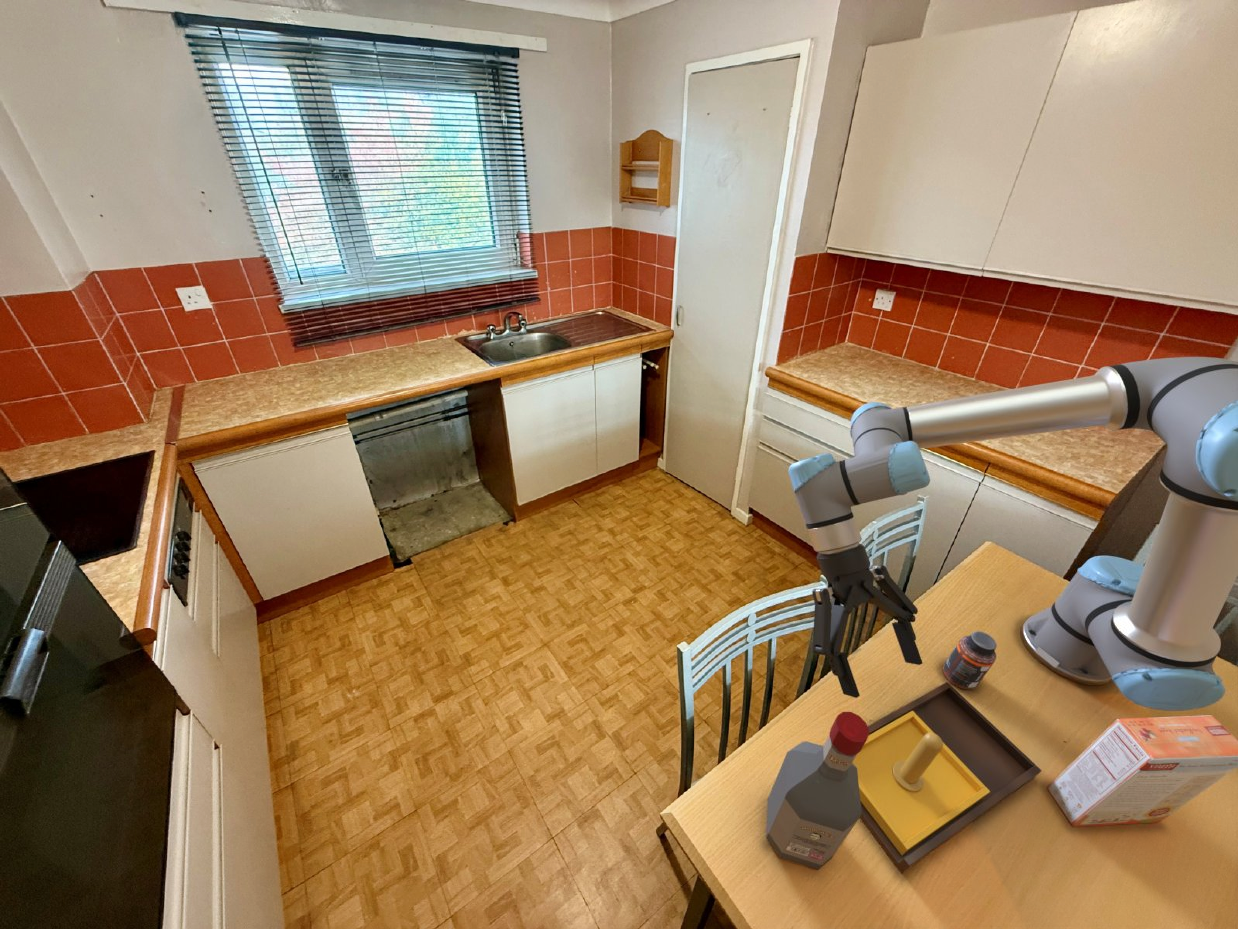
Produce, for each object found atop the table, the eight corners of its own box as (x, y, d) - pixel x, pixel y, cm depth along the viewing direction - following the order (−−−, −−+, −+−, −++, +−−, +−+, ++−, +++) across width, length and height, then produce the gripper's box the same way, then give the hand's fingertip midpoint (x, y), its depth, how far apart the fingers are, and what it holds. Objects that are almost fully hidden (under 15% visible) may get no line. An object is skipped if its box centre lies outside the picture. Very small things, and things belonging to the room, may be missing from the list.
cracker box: (1125, 782, 82) (1214, 712, 70) (1159, 825, 77) (1260, 758, 65) (1042, 784, 82) (1116, 715, 70) (1070, 828, 77) (1156, 761, 65)
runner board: (940, 691, 95) (947, 681, 93) (1032, 779, 82) (1042, 770, 80) (817, 760, 84) (822, 751, 82) (901, 874, 72) (909, 866, 70)
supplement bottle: (980, 695, 94) (1007, 659, 88) (944, 685, 96) (969, 649, 89) (973, 668, 99) (998, 631, 92) (939, 659, 100) (962, 622, 94)
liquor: (830, 877, 71) (901, 779, 54) (764, 855, 73) (812, 754, 56) (826, 807, 78) (888, 700, 61) (766, 789, 80) (810, 681, 63)
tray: (908, 717, 89) (935, 674, 81) (984, 798, 78) (1023, 757, 71) (830, 762, 82) (852, 719, 75) (901, 856, 72) (936, 818, 65)
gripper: (876, 529, 90) (918, 647, 87) (763, 571, 81) (806, 703, 79) (912, 525, 83) (958, 653, 80) (792, 570, 74) (841, 716, 72)
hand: (883, 678), depth 80 cm, fingers open, 13 cm apart
